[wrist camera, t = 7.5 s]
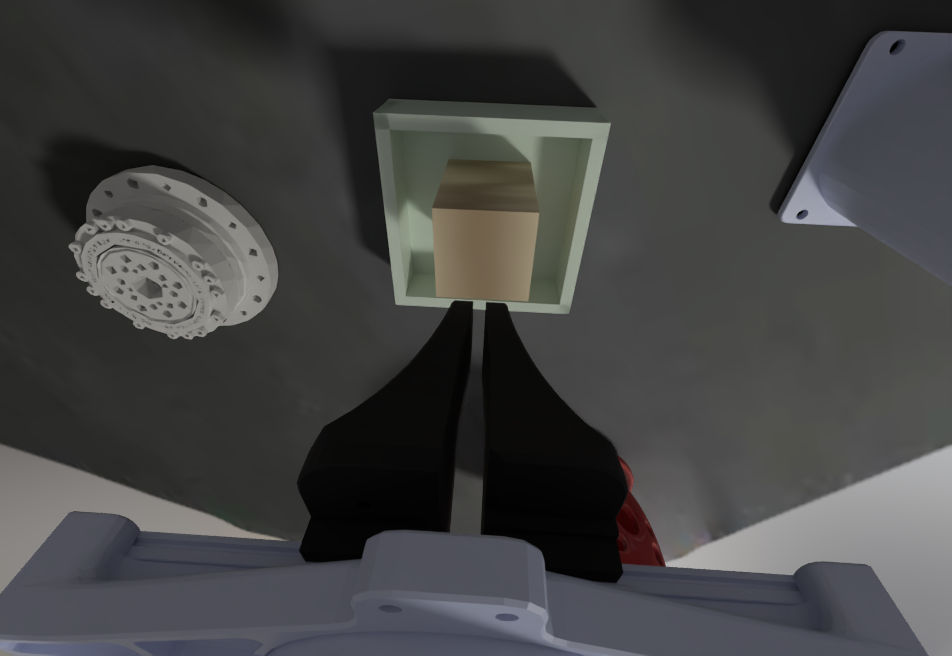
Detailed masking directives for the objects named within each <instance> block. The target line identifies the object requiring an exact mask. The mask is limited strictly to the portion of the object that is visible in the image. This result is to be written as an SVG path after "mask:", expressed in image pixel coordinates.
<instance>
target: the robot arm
mask: <svg viewBox="0 0 952 656" xmlns="http://www.w3.org/2000/svg"><path fill="white" fill-rule="evenodd" d="M897 40H898V45H897V47H896V48H895V50H894V51H893V52H891V53H890V52H889V51H890V48H891V46H892V45H893V43H895V42H896V41H897ZM802 210H804V211H803V213H802V214H801V215H799V216H797V214H798V213H799V212H800V211H802ZM778 218H779V219H780V220H781V221H783V222H785V223H796V224H817V225H837V226H857V227H860V228H861V229H863V230H864V231H866V232H867V233H869V234H871V235H872V236H874V237H875V238H877V239H878V240H880V241H882V242H883V243H885V244H886V245H888V246H889V247H891V248H892V249H894V250H896V251H897V252H899V253H900V254H902V255H903V256H905V257H907V258H908V259H910V260H911V261H913V262H914V263H916V264H918V265H919V266H921V267H922V268H924V269H925V270H927V271H929V272H930V273H932V274H933V275H935V276H936V277H938V278H940V279H941V280H943V281H944V282H946V283H947V284H949V285H951V286H952V33H932V32H907V31H882V32H880V33H878V34H876V35H875V36H874V37H872V38H871V39H870V40H869V42H868V43H867V45H866V46H865V48H864V50H863V52H862V54H861V56H860V58H859V60H858V61H857V63H856V65H855V67H854V69H853V71H852V73H851V75H850V77H849V79H848V80H847V82H846V84H845V86H844V88H843V90H842V92H841V94H840V96H839V97H838V99H837V101H836V103H835V105H834V107H833V109H832V111H831V113H830V115H829V116H828V118H827V120H826V122H825V124H824V126H823V128H822V130H821V132H820V134H819V135H818V137H817V139H816V141H815V143H814V145H813V147H812V149H811V151H810V153H809V154H808V156H807V158H806V160H805V162H804V164H803V166H802V168H801V170H800V171H799V173H798V175H797V177H796V179H795V181H794V183H793V185H792V187H791V189H790V190H789V192H788V194H787V196H786V198H785V200H784V202H783V204H782V206H781V208H780V209H779V212H778ZM472 325H473V301H460V300H455V301H453V302H452V303H451V305H450V307H449V309H448V311H447V313H446V315H445V317H444V318H443V320H442V321H441V323H440V325H439V326H438V328H437V329H436V330H435V332H434V333H433V335H432V336H431V338H430V339H429V340H428V342H427V343H426V344H425V345H424V346H423V348H422V349H421V350H420V351H419V353H418V354H417V355H416V356H415V357H414V358H413V359H412V361H411V362H410V363H409V364H408V365H407V366H406V367H405V368H404V369H403V370H402V371H401V372H400V373H399V374H398V375H397V376H395V377H394V378H393V379H392V380H391V381H390V382H389V383H388V384H387V385H385V386H384V387H383V388H382V389H381V390H379V391H378V392H377V393H375V394H374V395H373V396H371V397H370V398H369V399H367V400H366V401H364V402H363V403H362V404H360V405H359V406H358V407H356V408H355V409H353V410H352V411H350V412H348V413H347V414H345V415H343V416H342V417H340V418H338V419H336V420H335V421H333V422H331V423H330V424H328V425H326V426H324V428H323V429H322V431H321V432H320V434H319V436H318V437H317V439H316V441H315V442H314V444H313V446H312V447H311V449H310V451H309V453H308V456H307V458H306V460H305V463H304V465H303V467H302V470H301V472H300V475H299V478H298V481H297V486H298V490H299V492H300V495H301V497H302V499H303V501H304V503H305V505H306V507H307V509H308V511H309V513H310V515H311V519H310V521H309V524H308V527H307V530H306V532H305V535H304V538H303V540H302V542H294V541H279V540H264V539H249V538H235V537H220V536H205V535H191V534H175V533H161V532H147V531H140V529H139V528H138V527H137V525H136V524H135V523H134V522H133V521H131V520H130V519H128V518H126V517H124V516H121V515H116V514H107V513H92V512H78V511H74V512H70V513H69V514H68V515H67V516H66V517H65V518H64V519H63V521H62V522H61V523H60V524H59V526H58V527H57V528H56V529H55V530H54V531H53V532H52V534H51V535H50V536H49V537H48V538H47V540H46V541H45V542H44V543H43V544H42V545H41V547H40V548H39V549H38V550H37V551H36V553H35V554H34V555H33V556H32V558H31V559H30V560H29V561H28V562H27V563H26V564H25V566H24V567H23V568H22V569H21V570H20V572H19V573H18V574H17V575H16V576H15V577H14V579H13V580H12V581H11V582H10V583H9V585H8V586H7V587H6V588H5V589H4V591H2V593H1V594H0V650H2V651H4V652H7V653H10V654H13V655H15V656H928V654H927V653H926V651H925V650H924V648H923V646H922V645H921V643H920V642H919V640H918V639H917V637H916V636H915V634H914V633H913V631H912V630H911V628H910V626H909V625H908V623H907V622H906V620H905V619H904V617H903V616H902V614H901V613H900V611H899V610H898V608H897V606H896V605H895V603H894V602H893V600H892V599H891V597H890V596H889V594H888V592H887V591H886V589H885V588H884V586H883V585H882V583H881V582H880V580H879V579H878V577H877V576H876V574H875V573H874V571H873V569H872V568H871V567H870V566H868V565H865V564H852V563H838V562H813V563H808V564H806V565H804V566H802V567H800V568H799V569H798V570H797V571H796V572H795V574H794V575H778V574H765V573H751V572H750V573H749V572H736V571H721V570H706V569H692V568H677V567H662V566H648V565H633V564H622V563H621V558H620V553H619V549H618V544H617V539H616V538H618V537H619V529H618V525H617V520H616V517H617V515H618V513H619V512H620V510H621V508H622V506H623V504H624V502H625V500H626V498H627V494H628V487H627V481H626V477H625V474H624V471H623V468H622V466H621V463H620V461H619V458H618V456H617V454H616V452H615V450H614V448H613V445H612V444H611V443H610V442H609V441H607V440H606V439H605V438H604V437H602V436H601V435H600V434H599V433H597V432H596V431H595V430H594V429H592V428H591V427H590V426H589V425H587V424H586V423H585V422H584V421H583V420H582V419H581V418H580V417H579V416H578V415H577V414H575V412H574V411H573V410H572V409H571V408H570V407H569V406H568V405H567V404H566V403H565V402H564V401H563V400H562V399H561V398H560V397H559V396H558V394H557V393H556V392H555V391H554V390H553V388H552V387H551V386H550V385H549V383H548V382H547V381H546V380H545V378H544V377H543V376H542V374H541V373H540V371H539V370H538V368H537V367H536V365H535V364H534V362H533V361H532V359H531V357H530V356H529V354H528V352H527V351H526V349H525V347H524V345H523V343H522V341H521V339H520V337H519V336H518V334H517V331H516V329H515V327H514V324H513V322H512V319H511V317H510V314H509V310H508V306H507V305H506V304H505V303H496V302H486V311H485V329H484V347H483V365H482V385H483V404H484V424H485V452H484V474H483V496H482V517H481V535H476V534H461V533H450V524H451V512H452V500H453V488H454V476H455V465H456V454H457V442H458V435H459V428H460V423H461V418H462V412H463V407H464V402H465V397H466V391H467V386H468V381H469V375H470V365H471V352H472Z"/></svg>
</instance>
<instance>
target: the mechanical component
mask: <svg viewBox="0 0 952 656" xmlns="http://www.w3.org/2000/svg"><path fill="white" fill-rule="evenodd" d="M86 222H87V223H85V224H84V225H83V226H81V227H80V229H79V230H78V231H77V233H76V234H75V242H73V243H71V244H70V245H69V248H70V249H71V251H73V252H74V257H75V259H76V261H77V263H78V266H79V268H80V271H79V272H77V273H76V276H77V277H78V278H79V279H80V280H82V281H85V282H88V283H89V284H90V285H89V286H88V287H87V291H88V292H89V293H90V294H92V295H94V296H96V295H99V296H101V297H102V298H103V299H102V300H101V305H102V306H104V307H105V308H109V309H111V308H112V307H113V308H114V309H115V310H117V311H119V312H120V313H122V314H123V315H125V316H127V317H128V318H130V319H131V320H133V321H134V323H133V324H134V326H135V327H137V328H139V329H143V328H144V327H145V326H146V327H148V328H150V329H153V330H156V331H160V332H163V333H167V335H168V337H170V338H172V339H176V338H177V337H179V336H183V337H184V338H186V339H192V338H193V337H194V336H201V337H204V336H205V335H206V334H207V333H208V332H212V331H214V330H215V329H216V328H217V327H218V326H222V325H235V324H238V323H241V322H244V321H247V320H250V319H251V318H252V317H254V316H255V315H256V314H258V313H259V312H260V311H262V310H263V309H264V307H265V306H266V304H267V303H268V302H269V300H270V298H271V296H272V295H273V293H274V291H275V289H276V286H277V280H278V266H277V260H276V257H275V254H274V250H273V247H272V246H271V244H270V242H269V241H268V239H267V237H266V235H265V234H264V232H263V230H262V228H261V227H260V225H259V224H258V223H257V222H256V221H255V220H254V219H253V217H252V216H251V215H250V214H249V213H248V212H247V211H246V210H245V209H244V208H243V207H242V206H241V205H240V204H239V203H238V202H237V201H235V200H234V199H233V198H232V197H230V196H229V195H228V194H227V193H225V192H224V191H222V190H221V189H219V188H217V187H216V186H214V185H212V184H211V183H209V182H207V181H206V180H204V179H201V178H199V177H196V176H194V175H191V174H189V173H187V172H184V171H181V170H175V169H170V168H165V167H160V166H155V165H150V166H144V167H139V168H133V169H127V170H125V171H122V172H120V173H118V174H116V175H114V176H111V177H109V178H107V179H105V180H103V181H102V182H101V183H100V184H99V185H98V186H97V187H96V188H95V189H94V191H93V192H92V193H91V194H90V197H89V200H88V203H87V206H86Z"/></svg>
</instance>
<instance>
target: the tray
mask: <svg viewBox="0 0 952 656" xmlns="http://www.w3.org/2000/svg"><path fill="white" fill-rule="evenodd" d="M373 117H374V126H375V134H376V142H377V151H378V159H379V168H380V176H381V185H382V193H383V201H384V210H385V218H386V227H387V235H388V243H389V252H390V260H391V269H392V277H393V285H394V294H395V302H396V305H411V306H429V307H448V308H449V307H450V305H451V303H452V302H453V301H455V300H460V301H473V309H484V310H486V302H496V303H505V304H506V305H507V306H508V310H509V311H521V312H539V313H557V314H569V311H570V307H571V302H572V298H573V293H574V289H575V284H576V280H577V275H578V271H579V266H580V262H581V257H582V252H583V248H584V243H585V239H586V234H587V230H588V225H589V221H590V216H591V212H592V207H593V203H594V198H595V193H596V189H597V184H598V180H599V175H600V171H601V166H602V162H603V157H604V153H605V148H606V143H607V139H608V134H609V130H610V125H611V123H610V122H609V121H608V119H607V118H606V117H605V116H604V115H603V114H602V113H601V111H600V110H599V109H598V108H590V107H567V106H544V105H521V104H498V103H475V102H453V101H430V100H407V99H388V100H387V101H386V102H385V103H384V104H382V105H381V106H380V107H379V108H378V109H377V110H376V111H374V112H373ZM449 159H459V160H485V161H510V162H531V166H532V172H533V178H534V184H535V190H536V195H537V201H538V207H539V221H538V229H537V237H536V244H535V252H534V260H533V268H532V276H531V284H530V291H529V299H528V301H513V300H492V299H471V298H451V297H436V283H435V263H434V243H433V222H432V206H433V203H434V201H435V198H436V195H437V192H438V189H439V186H440V183H441V180H442V177H443V174H444V171H445V168H446V165H447V162H448V160H449Z"/></svg>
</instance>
